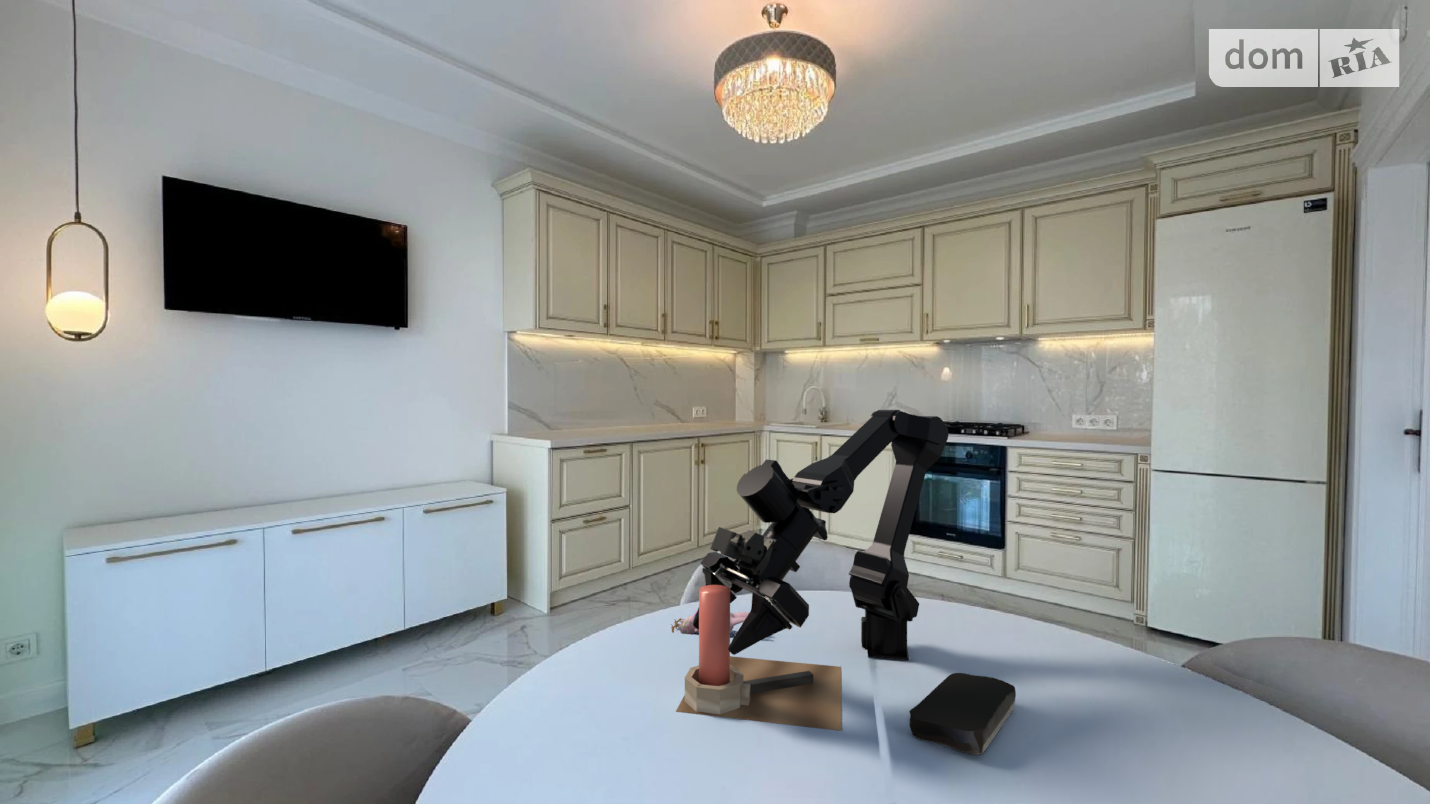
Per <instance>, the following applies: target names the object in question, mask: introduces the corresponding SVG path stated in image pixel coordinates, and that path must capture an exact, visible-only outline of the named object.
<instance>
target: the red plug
mask: <svg viewBox="0 0 1430 804" xmlns="http://www.w3.org/2000/svg"><path fill="white" fill-rule="evenodd" d="M698 608H699V632H698V665H699V683H700V684H701V685H711V686H721V685H725V684H728V683H730V656H731V652H730V651H729V650H728V648H729V646H730V644H731V632H730V612H731V603H730V588H728V587H726V586H722V585H707V586H706V585H703V586H700V588H699V589H698Z"/></svg>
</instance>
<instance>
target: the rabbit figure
mask: <svg viewBox="0 0 1430 804" xmlns="http://www.w3.org/2000/svg"><path fill="white" fill-rule="evenodd" d="M697 611H698V609H697V610H696V611H695V612H694V613H693V614H692V615H689V616H688V617H687V618H685V619H684V618H682V617H679V618H678V619H677V620H676V619H675V618H673V619H674V624H672V623H671V624H670V625H671V633H673V634H674V633H675V629H676V630H677V629H678V630H679V632H680V633H681V634H682V635H693V634H695V633H699V630H697V629H696V628H695V627H694V626H693V621H694V619H695V616H696V613H697ZM749 613H750V611H741V612H735V613H734V612H731V611H730V633H731V632H732V630H734V627H735V626H737V625H740V624H741V623H742V624H743V622H744V621H745V619H746V617H747V616H748V614H749Z"/></svg>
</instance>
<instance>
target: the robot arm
mask: <svg viewBox="0 0 1430 804" xmlns="http://www.w3.org/2000/svg"><path fill="white" fill-rule="evenodd" d="M949 434H950V433H949V429H948V426H947V424H946V423H945V422H944V420H943V419H942V418H941V417H939V416H937V415H936V416H934V415H927V416H926V415H918V414H917V415H916V414H912V413H908V412H906V411H902V410H901V409H878V410H875V411H873V412H872V413H871V415H870V417H869V418H868V420H867V421H866V422H865V423H864V424H863V425H861V427H859V428H858V430H856V431H855V432H854V433H853V434H852V435H851V436H850V437H849V438H848V439H847V440H846V441H845V442H844V443H843V444H842V445H841V446H839V448H837V449H836V450H835V451H834V452H833V453H832V454H831V455H829V456H828V457H826V458H823V459H820V460H817V461H815V462H812V463H810V464H809V465H807V466H805V467H803V469H800V470H799V471H798V472H797V473H796V474H795V475H794V477H792V478H789V477H788V475H787V474H786V473H785V472H784V471H783V468H782V466H781V465H780V464H779V462H778V461H777V460H776V459H775V460H774V459H765V460H764V461H763V463H762V464H759V465H758V466H755V467H753V468H752V469H749V470H748V471H747V473H744V474H743V475H742V476H741V477H740V479H739V480H738V482H737V484H736V492H737V495H739V496H740V498H741V499H742V500H743V501H744V502H745V504H746V505H748V507H749V509H751V511H752V512H753V513H754V514H755V515H756V516H757V518H758V519H759V520H760V521H761V522H763V523H766V524H769V526H768V527H767V528H766V530H765V531H764V532H763V533H762V534H760V533H757V532H755V531H752V530H747V531H746V532H745V533H744V534H739V533H737V532H735V531H732V530H729V529H727V528H725V527H724V528H723V527H721V526H719V527H718V528H717V531H716V533H715V536H714V538H713V541H712V543H711V546H710V547H709V549H710V550H711V552H707V554H706V555H705V557H704V558H703V559H702V560H701V562H700V565H701V567H702V570H701V571H702V573H703V574H704V581H705V586H707V585H722V586H726V587H728V588H730V604H732V603H733V602H734V601H735V600H736V599H737V596H736V594H737V593H739V592H741V591H742V590H746V591H748V592H750V593H751V609H750V611H749V614H748V616H747V617H746V619H745V621H744V622H743V623H742V624H741V625H740V627H739V628H738V629H737V632H736V633H735V635H734V636H733V638H732V640H731V641H730V646H729V648H728V650H729V651H730V654H731V655H732V656H736V655H737V654H739V653H741V652H742V651H744V650H746V649H748V648H750V647H752V646H753V645H755V644H757V643H758V642H760V641H762V640H764V639H766V638H768V637H769V638H770V637H771V636H774V635H775V634H777V633H779V632H782V631H784V630H786V629H787V630H789V631H790V630H791V629H792V628H793V625H794V626H796V627H798V628H802V627H803V625H804V623H805V622H806V621H807V620H808V618H809V616H810V604H809V603H808V602H807V601H806V600H805V599H804V598H803V597H802V595H801V594H799V592H798V591H797V590H796V589H795V588H794V587H793V585H791V584H790V583H789V582H787V581H784V578H785V577H786V576H787V574H788V573H789V572H790V571H791V572H793V573H797V572H798V571H799V569H800V568H801V566H800V565H799V563H798V562H797V560H798V559H799V558H800V556H801V555H802V553H803V552H804V550H805V549H806V547H808V545H809V543H810V542H811V541H812V540H813V538H816V539H820V540H822V541H828V538H829V537H828V531H827V527H826V526H827V525H826V524H827V521H826V520H824V519H821V518H818V517H816V516H815V514H814V513H813V511H817V512H822V513H827V514H836V513H838V512H839V511H841V510H842V508H843V507H844V506H845V504H846V503H847V501H848V500H849V498H851V496H852V494H853V493H854V489H855V488H854V487H855V480H856V479H857V478H858V477H859V475H860V474H861V473H862V472H864V470H865V469H866V468H867V467H868V466H869V465H870V464H871V463H872V462H873V461H874V460H875V459H876V458H877V457H878V456H879V455H880V454H881V453H882V452H883V451H884V450H885V449H886V448H887V447H888V446H889V444H890V445H891V450H892V452H893V455H894V460H895V463H894V464H895V465H894V467H893V470H892V474H891V478H890V481H889V485H888V489H887V492H886V495H885V498H884V503H883V507H882V509H881V512H880V517H879V520H878V524H877V525H876V526H877V527H876V530H875V534H874V538H873V540H872V541H873V542H872V544H871V545H870V546H869V547H868V548H867V549H866V550H865V551H863V550H857V551H856V552H855V554H854V557H853V564H852V566H851V568H850V571H849V572H848V575H849V576H850V577H849V582H848V583H849V585H848V586H849V589H851V594H852V598H853V602H854V605H855V607H856V608H858V609H862V610H864V616H862V617H860V618H861V620H860V624H861V625H860V628H861V629H860V631H861V633H860V637H861V638H860V639H861V640H860V641H861V642H860V643H861V648H863V649H864V650H865V651H867V657H868V658H876V659H877V658H878V659H886V660H887V659H890V660H899V661H910V655H909V651H908V622H914V621H913V619H915V618H917V617H918V613H919V608H920V607H919V606H920V602H919V601H918V599H917V598H916V597H915V596H914V594H913V593H912V592H911V591H910V589H909V588H908V586H909V584H908V583H909V577H910V573H909V570H908V566H907V563H906V560H905V559H906V558H905V551H906V548H907V547H906V546H907V543H908V540H909V536H910V533H911V528H912V525H913V521H914V518H915V514H916V511H917V507H918V502H919V500H920V496H921V491H922V488H923V485H924V482H925V481H924V480H925V478H926V474H927V471H928V470H929V469H930V468H931V467H932V466H933V465H934V464H935V463H937V462H938V460H939V459H940V458H941V457H942V454H943V452H944V450H945V446H946V445H947V443H948V442H947V441H948V439H949ZM811 510H813V511H811ZM712 551H713V552H712ZM719 552H720V553H719ZM697 610H698V611H697ZM697 610H696V611H697V613H696V616H695V619H694V621H693V626H694V627H695V628H696V629H697V630H699V607H697Z"/></svg>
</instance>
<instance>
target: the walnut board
mask: <svg viewBox="0 0 1430 804" xmlns="http://www.w3.org/2000/svg"><path fill="white" fill-rule="evenodd" d="M842 702H843V701H842V666H838V665H827V664H826V665H825V664H818V663H816V664H815V663H805V662H796V661H795V662H794V661H786V660H785V661H784V660H776V659H775V660H771V659H762V658H751V657H743V656H733V655H732V656H731V655H730V683H728V684H725V685H721V686H711V685H701V684H700V683H699V664H698V665H696V666H691V667H690V668H689V670H688V672H687V673H686V675H685V676H684V695H683V697H682V699H681V700H680V703H679V705H678V706H677V709H675V713H685V714H692V715H702V716H708V717H709V716H710V717H719V718H727V719H734V720H736V719H737V720H742V721H743V720H744V721H752V722H753V721H754V722H760V723H761V722H762V723H769V724H779V725H787V726H788V725H789V726H795V727H804V728H812V729H822V730H831V731H839V732H843V728H842V727H843V721H842V720H843V718H842V717H843V714H842V711H843V709H842V707H843V706H842Z"/></svg>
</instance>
